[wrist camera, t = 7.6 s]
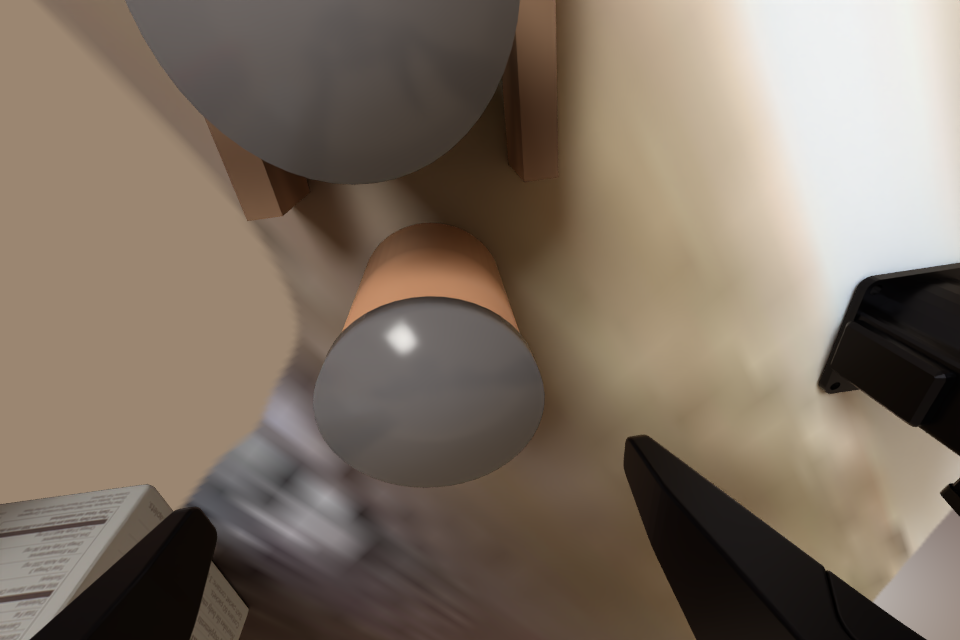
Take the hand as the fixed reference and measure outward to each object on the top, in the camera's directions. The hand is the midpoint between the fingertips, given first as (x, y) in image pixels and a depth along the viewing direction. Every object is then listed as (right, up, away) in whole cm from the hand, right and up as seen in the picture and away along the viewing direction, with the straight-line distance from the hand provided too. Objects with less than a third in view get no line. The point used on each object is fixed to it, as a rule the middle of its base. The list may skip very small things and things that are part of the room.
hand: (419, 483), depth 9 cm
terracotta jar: (-1, +5, +8) cm, 9 cm away
